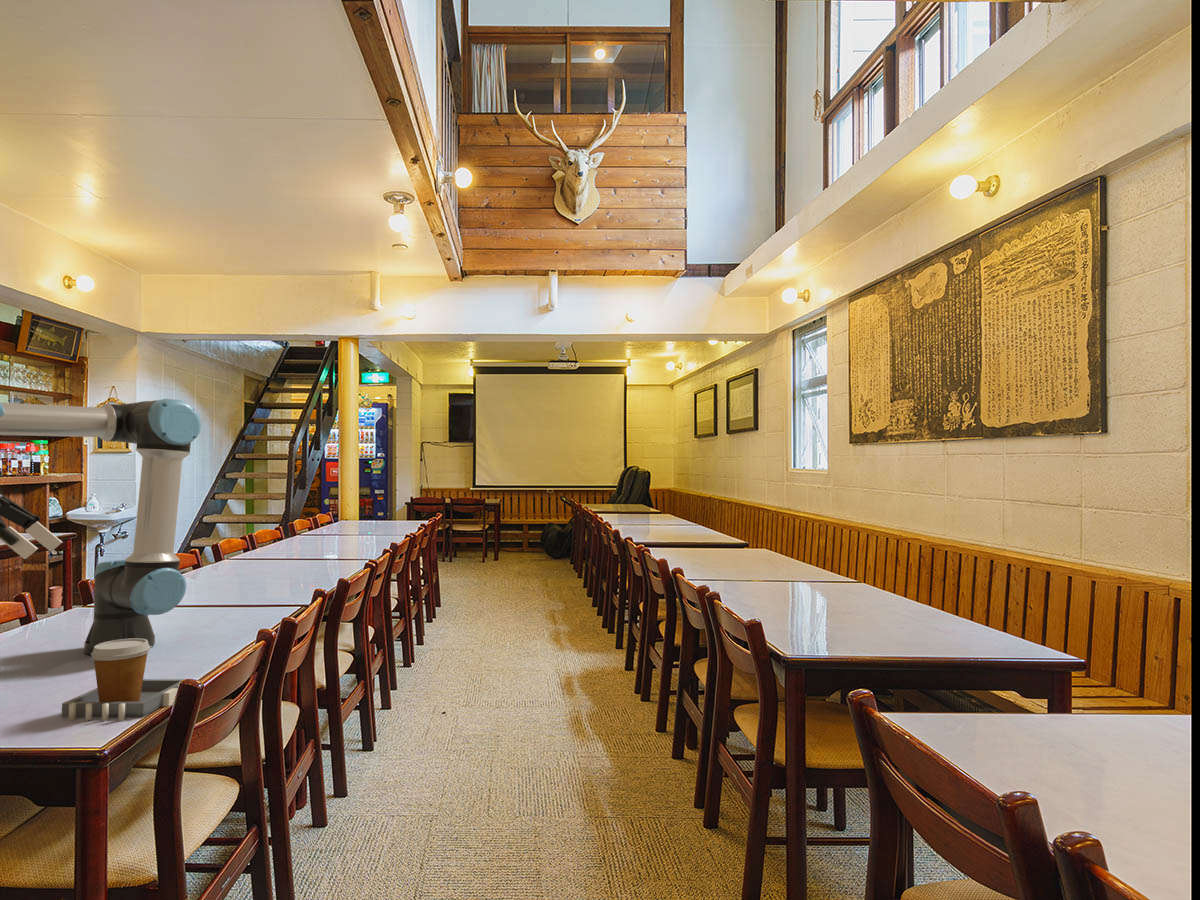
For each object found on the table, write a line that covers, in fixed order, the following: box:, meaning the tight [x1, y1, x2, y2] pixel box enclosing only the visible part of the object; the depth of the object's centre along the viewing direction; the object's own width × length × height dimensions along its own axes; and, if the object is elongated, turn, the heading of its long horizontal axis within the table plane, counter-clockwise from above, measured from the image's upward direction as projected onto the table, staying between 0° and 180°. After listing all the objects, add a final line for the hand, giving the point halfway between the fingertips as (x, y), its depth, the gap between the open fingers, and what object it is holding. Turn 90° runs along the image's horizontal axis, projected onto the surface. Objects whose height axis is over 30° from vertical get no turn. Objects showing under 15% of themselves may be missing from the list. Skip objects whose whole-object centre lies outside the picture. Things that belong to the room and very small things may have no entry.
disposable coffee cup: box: [90, 638, 152, 702], centre depth 133 cm, size 10×10×12 cm
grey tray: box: [61, 678, 186, 722], centre depth 135 cm, size 17×16×3 cm
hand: (44, 550), depth 142 cm, fingers open, 13 cm apart
